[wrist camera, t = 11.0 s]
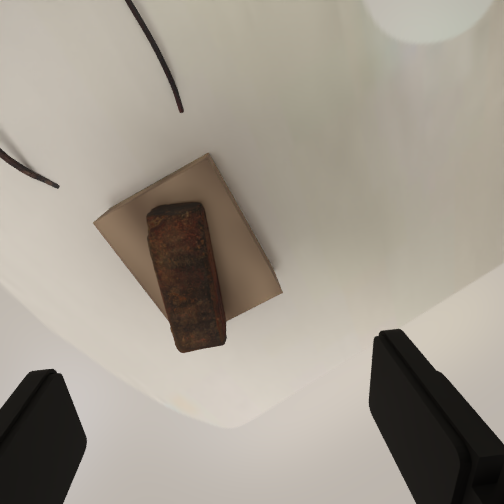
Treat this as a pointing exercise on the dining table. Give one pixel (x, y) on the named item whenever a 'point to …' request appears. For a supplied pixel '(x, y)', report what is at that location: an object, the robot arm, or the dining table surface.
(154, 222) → the brick
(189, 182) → the beige box
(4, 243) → the dining table surface
